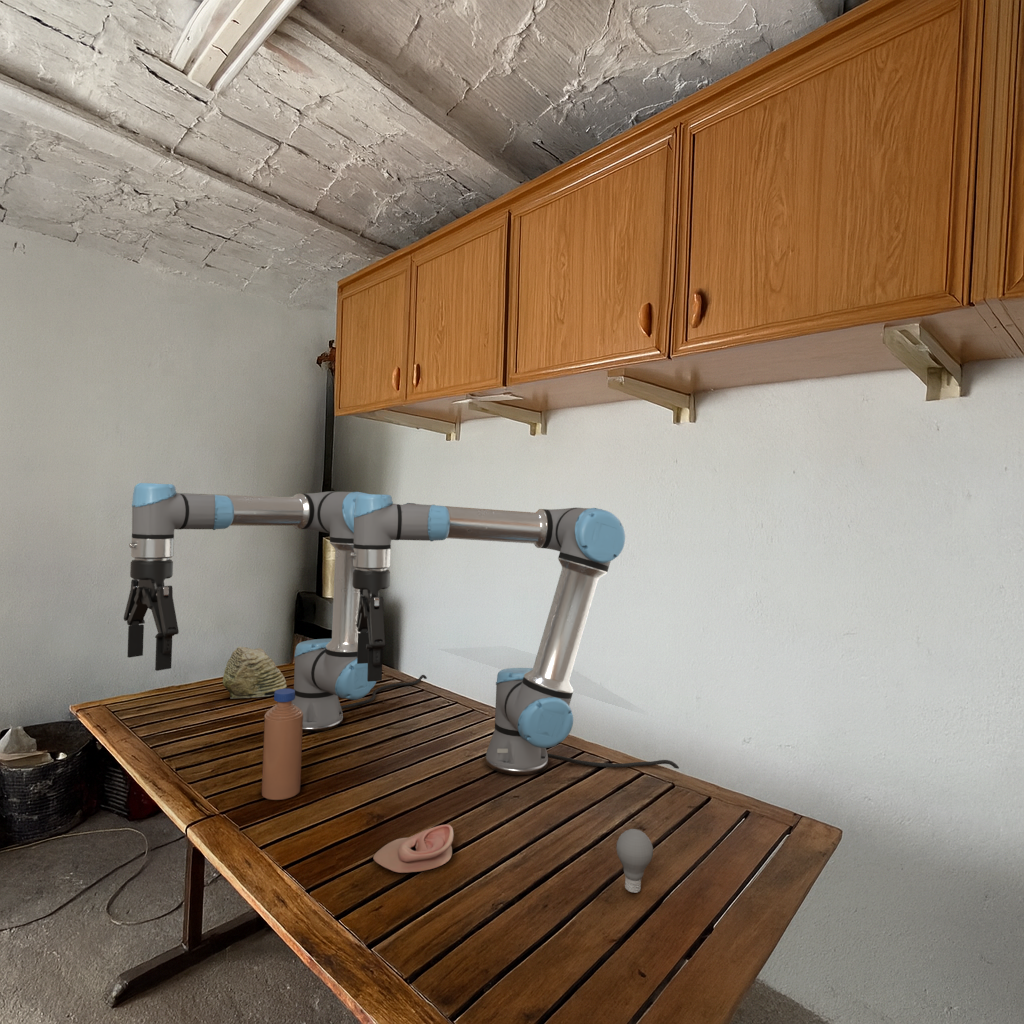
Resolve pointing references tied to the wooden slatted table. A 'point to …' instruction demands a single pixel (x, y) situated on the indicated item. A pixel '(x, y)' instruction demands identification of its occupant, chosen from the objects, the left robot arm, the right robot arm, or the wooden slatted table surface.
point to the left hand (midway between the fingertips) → (148, 662)
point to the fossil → (252, 674)
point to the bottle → (282, 751)
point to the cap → (284, 695)
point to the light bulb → (634, 857)
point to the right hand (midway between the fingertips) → (368, 671)
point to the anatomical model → (417, 851)
